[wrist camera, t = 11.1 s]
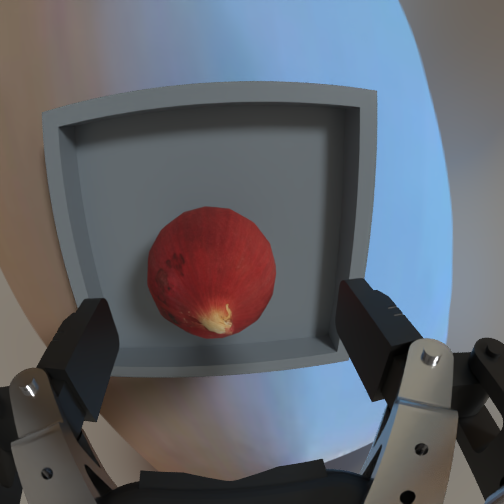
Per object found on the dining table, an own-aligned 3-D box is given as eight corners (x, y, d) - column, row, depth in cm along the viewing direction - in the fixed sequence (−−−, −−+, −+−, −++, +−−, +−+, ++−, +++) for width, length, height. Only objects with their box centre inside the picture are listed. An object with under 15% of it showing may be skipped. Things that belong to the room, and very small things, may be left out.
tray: (67, 112, 14) (42, 112, 11) (353, 94, 16) (377, 90, 13) (114, 348, 21) (104, 375, 18) (335, 334, 22) (348, 360, 19)
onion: (181, 296, 18) (169, 397, 11) (145, 210, 16) (97, 281, 9) (272, 270, 18) (309, 363, 11) (246, 177, 16) (276, 225, 9)
